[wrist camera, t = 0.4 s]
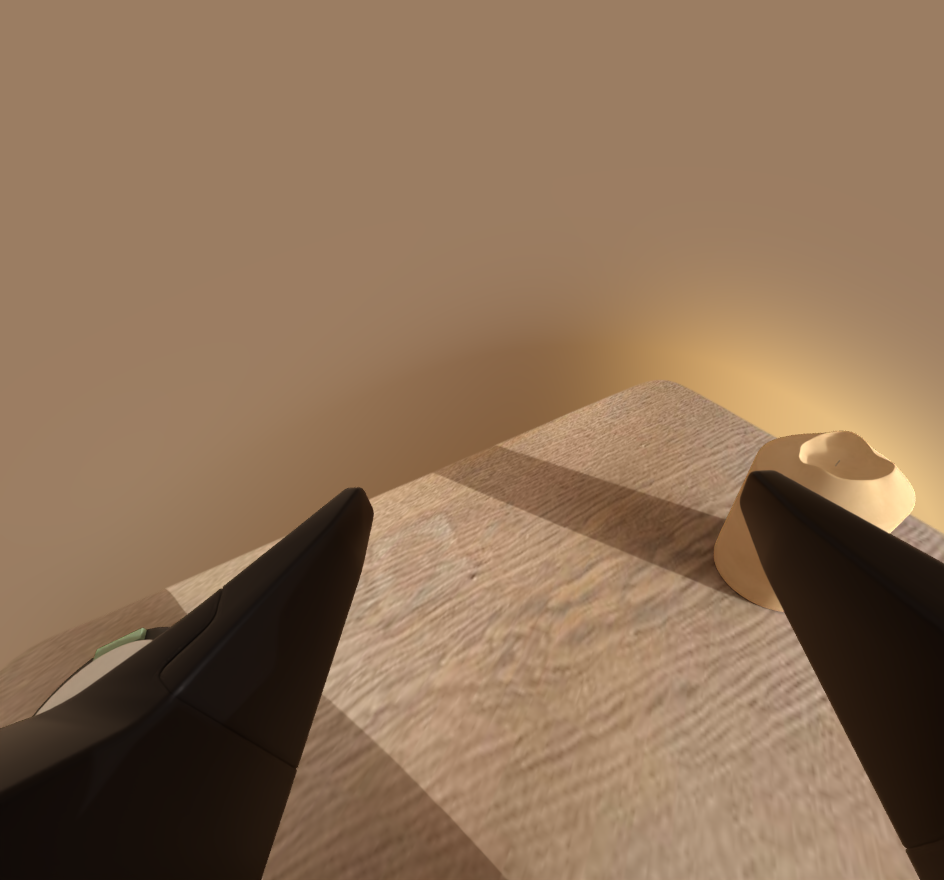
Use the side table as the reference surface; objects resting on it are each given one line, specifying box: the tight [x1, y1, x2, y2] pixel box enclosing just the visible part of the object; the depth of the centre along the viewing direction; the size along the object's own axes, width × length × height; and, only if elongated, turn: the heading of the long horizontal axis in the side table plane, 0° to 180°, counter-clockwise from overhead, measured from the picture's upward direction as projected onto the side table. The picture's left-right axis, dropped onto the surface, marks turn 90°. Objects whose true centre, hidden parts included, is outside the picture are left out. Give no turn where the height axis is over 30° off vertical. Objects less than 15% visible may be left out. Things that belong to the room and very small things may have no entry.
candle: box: [714, 431, 915, 612], centre depth 19 cm, size 6×6×10 cm
